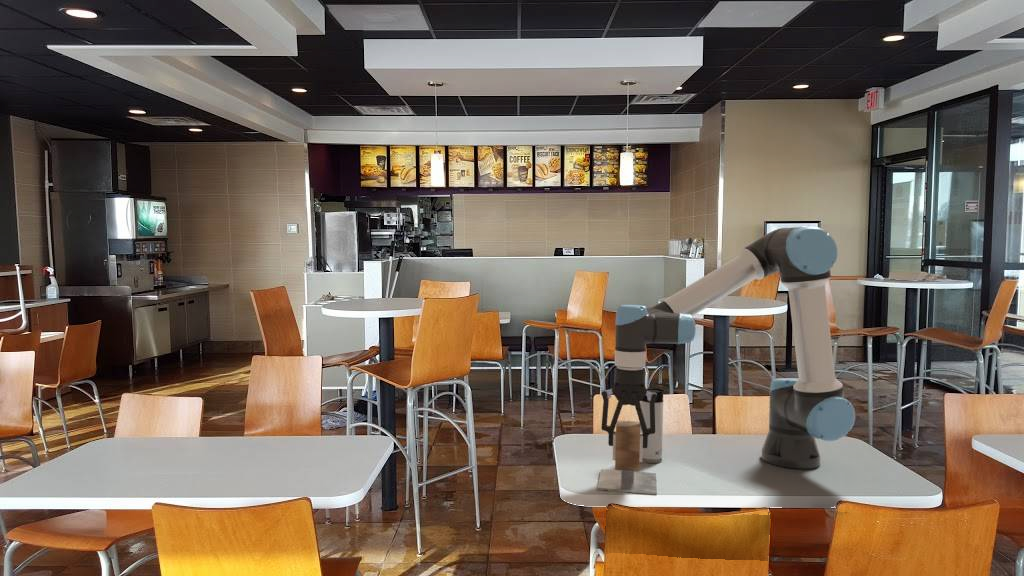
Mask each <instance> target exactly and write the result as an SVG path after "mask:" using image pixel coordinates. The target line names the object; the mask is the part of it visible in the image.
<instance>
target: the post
mask: <svg viewBox="0 0 1024 576" xmlns="http://www.w3.org/2000/svg"><path fill="white" fill-rule="evenodd" d="M596 490H597V491H602V490H609V491H608V492H615V491H620V492H619V493H628V492H631V493H632V494H644V495H658V490H657V473H655V472H645V471H644V472H643V471H641V472H640V471H627V470H615V469H604V468H601V469H600V473H599V478H598V484H597V489H596ZM631 493H630V494H631Z"/></svg>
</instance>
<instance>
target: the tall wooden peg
mask: <svg viewBox="0 0 1024 576" xmlns="http://www.w3.org/2000/svg"><path fill="white" fill-rule="evenodd" d="M615 432H616V453H615V460H614V470H618V471H622V470H627V471H634V472H640V462H639V456H640V422H639V421H633V420H630V421H629V420H619V419H618V420H617V423H616V426H615Z"/></svg>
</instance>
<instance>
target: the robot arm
mask: <svg viewBox="0 0 1024 576" xmlns="http://www.w3.org/2000/svg"><path fill="white" fill-rule="evenodd" d="M837 246H838V245H837V243H836V241H835V239H834V238H833V236H832V235H831V234H830V233H828V232H827V230H824V229H823V228H821V227H817V226H809V225H802V226H796V227H782V228H776V229H774V230H772V231H770V232H768V233H766V234H765V235H763V236H762V237H760V238H758V239H757V240H755V241H754V242H752V243H750V244H749V245H747V246H745V247H743V248H742V249H741V250H740V252H739V255H737V256H736V257H734V258H733V259H731V260H729V261H727V262H726V263H724V264H722V265H721V266H719V267H718V268H716V269H714V270H712V271H711V272H709V273H707V274H705V275H704V276H703V277H701V278H699V279H698V280H696V281H694V282H692V283H691V284H689V285H687V286H686V287H684V288H681V290H678V291H677V292H675V293H674V294H672V295H670V296H669V297H668V298H666V299H664V300H662V301H660V302H659V303H657V304H655V305H653V306H650V307H647V306H646V305H642V304H621V305H619V306H617V308H616V311H615V312H616V313H615V322H614V325H615V337H614V338H615V340H614V341H615V342H614V343H615V344H614V345H615V348H614V366H615V368H614V375H613V377H614V378H613V386H612V388H609V389H603V390H602V391H601V396H602V400H603V405H602V415H601V427H600V428H601V431H605V432H607V433H608V442H607V443H608V446H609V447H612V461H615V453H616V431H615V430H616V424H617V420H618V421H619V417H620V414H621V412H622V411H621V410H622V408H623V406H627V405H629V406H632V407H633V406H635V407H634V408H635V411H636V414H637V418H638V420H639V421H638V422H640V425H641V429H642V432H643V433H640V456H639V463H643V461H642V455H643V448H647V446H648V435H649V434H654V433H655V401H656V398H657V394H656V393H655V392H653V393H652V392H649V391H647V389H648V388H647V387H646V369H645V367H646V361H647V360H646V357H647V356H646V355H647V352H646V351H647V344H650V345H651V344H675V345H676V344H677V345H681V344H690V343H692V341H693V340H694V338H695V336H696V322H695V321H696V320H695V318H694V316H695V315H697V314H698V313H700V312H701V311H704V310H705V309H707V308H708V307H710V306H712V305H714V304H715V303H717V302H718V301H720V300H722V299H724V298H725V297H727V296H729V295H731V294H732V293H734V292H735V291H737V290H739V289H740V288H743V287H744V286H746V285H747V284H749V283H751V282H753V281H754V280H758V281H760V280H763V279H764V278H766V277H768V276H771V275H774V274H777V273H779V274H780V275H779V276H780V277H779V278H780V283H781V284H782V285H783V286H785V287H786V288H787V289H788V298H789V306H790V307H789V308H790V317H791V324H792V331H793V332H792V334H793V341H794V350H795V357H796V367H797V368H796V369H797V376H798V377H796V378H795V377H794V378H793V377H789V378H788V377H786V378H785V377H784V378H783V377H782V378H781V377H780V378H774V379H772V380H771V382H770V386H769V410H768V411H769V413H768V414H769V415H768V416H769V419H768V422H769V423H768V431H767V435H766V437H765V440H764V442H763V445H762V447H761V459H762V461H765V462H766V463H768V464H771V465H774V466H776V467H777V466H778V467H782V468H788V469H797V470H800V469H801V470H806V469H807V470H808V469H816V468H819V467H820V466H821V454H820V450H819V448H818V444H817V440H816V439H819V440H822V441H825V442H834V441H838V440H841V439H842V438H844V437H846V436H847V435H848V432H850V431H851V430H852V429H853V427H854V424H855V421H856V411H855V408H854V406H853V405H852V403H851V402H850V401H849V400H848V399H847V398H845V394H844V386H843V383H842V382H841V381H840V380H839V379H837V378H836V371H835V363H834V357H833V355H834V354H833V344H832V336H831V335H832V334H831V329H830V328H831V327H830V326H831V325H830V318H829V309H828V308H829V307H828V301H827V300H828V299H827V290H826V285H827V283H828V282H829V281H830V280H831V278H832V276H831V275H832V274H831V269H832V268H833V267H834V264H835V263H836V261H837V259H838V247H837ZM612 395H614V397H615V398H616V400H617V401H618V402H617V404H616V407H615V411H614V412H613V416H612V419H611V422H610V425H609V424H608V414H609V401H610V399H611V398H612ZM645 395H646V396H647V399H648V401H650V428H647V426H646V423H645V419H644V415H643V412H642V408H641V404H640V401H641V400H642V399H643V397H644V396H645Z"/></svg>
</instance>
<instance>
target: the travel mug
mask: <svg viewBox="0 0 1024 576" xmlns="http://www.w3.org/2000/svg"><path fill="white" fill-rule="evenodd" d="M646 389H647V391H649V392H652V393H653V392H655V393H656V394H657V398H656V401H655V433H654V434H649V435H648V446H647V448H643V455H642V463H647V464H660V463H661V462H662V461H663V440H664V439H663V437H664V435H663V434H664V433H663V432H664V393H665V392H666V389H665V388H657V387H655V388H653V387H652V388H646ZM640 404H641V408H642V412H643V415H644V419H645V423H646V426H647V428H650V401H648V399H647V396H646V395H645V396H644V397H643V399H642V400H641V401H640ZM640 433H643V432H642V429H641V425H640Z"/></svg>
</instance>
